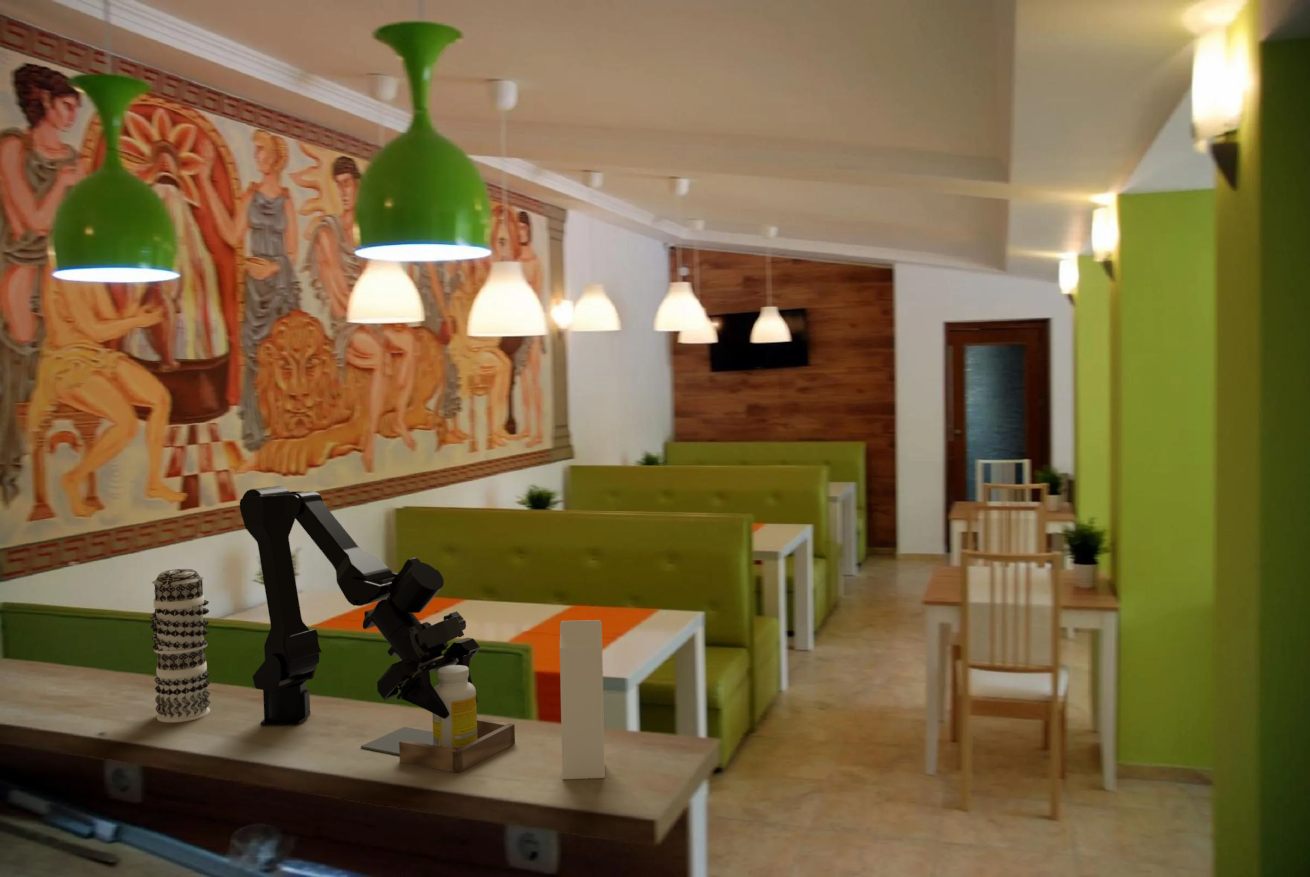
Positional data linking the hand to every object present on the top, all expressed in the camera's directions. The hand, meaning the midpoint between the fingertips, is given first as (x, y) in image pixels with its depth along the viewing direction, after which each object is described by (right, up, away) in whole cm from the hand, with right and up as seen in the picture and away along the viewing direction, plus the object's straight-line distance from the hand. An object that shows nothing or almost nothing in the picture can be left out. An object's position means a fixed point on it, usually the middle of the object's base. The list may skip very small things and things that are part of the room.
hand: (461, 710), depth 159 cm
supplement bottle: (-1, -7, +1) cm, 7 cm away
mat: (-10, -6, +5) cm, 13 cm away
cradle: (-1, -7, +1) cm, 7 cm away
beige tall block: (+19, -7, -8) cm, 22 cm away
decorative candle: (-52, -7, +22) cm, 57 cm away
